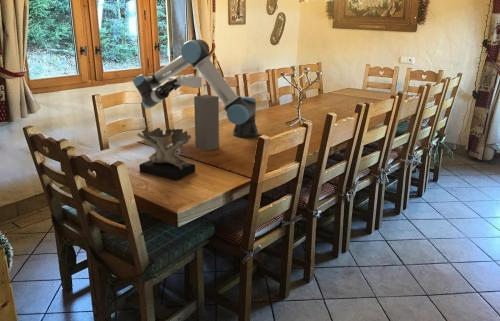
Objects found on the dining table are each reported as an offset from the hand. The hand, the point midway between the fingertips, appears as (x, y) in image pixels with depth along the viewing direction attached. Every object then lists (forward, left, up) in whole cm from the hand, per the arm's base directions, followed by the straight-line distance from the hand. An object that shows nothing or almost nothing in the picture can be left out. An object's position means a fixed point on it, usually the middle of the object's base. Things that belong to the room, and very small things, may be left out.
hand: (183, 77), depth 222 cm
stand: (-15, +8, -36) cm, 40 cm away
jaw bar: (0, 0, -4) cm, 4 cm away
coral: (-7, +51, -37) cm, 64 cm away
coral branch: (-3, +29, -37) cm, 47 cm away
